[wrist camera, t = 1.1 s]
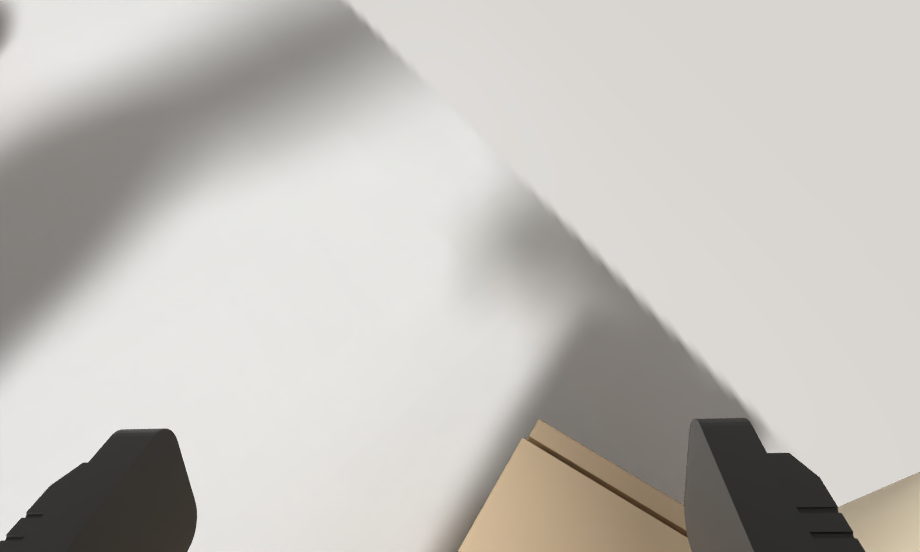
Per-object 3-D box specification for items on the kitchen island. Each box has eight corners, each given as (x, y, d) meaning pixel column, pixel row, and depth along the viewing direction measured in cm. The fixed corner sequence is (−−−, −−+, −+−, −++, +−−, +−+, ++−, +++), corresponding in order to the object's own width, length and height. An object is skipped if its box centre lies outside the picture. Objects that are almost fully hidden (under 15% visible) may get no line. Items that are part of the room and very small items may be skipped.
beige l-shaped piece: (486, 509, 36) (631, 259, 16) (513, 460, 37) (677, 176, 17) (703, 648, 33) (1198, 558, 13) (723, 589, 35) (1192, 431, 15)
